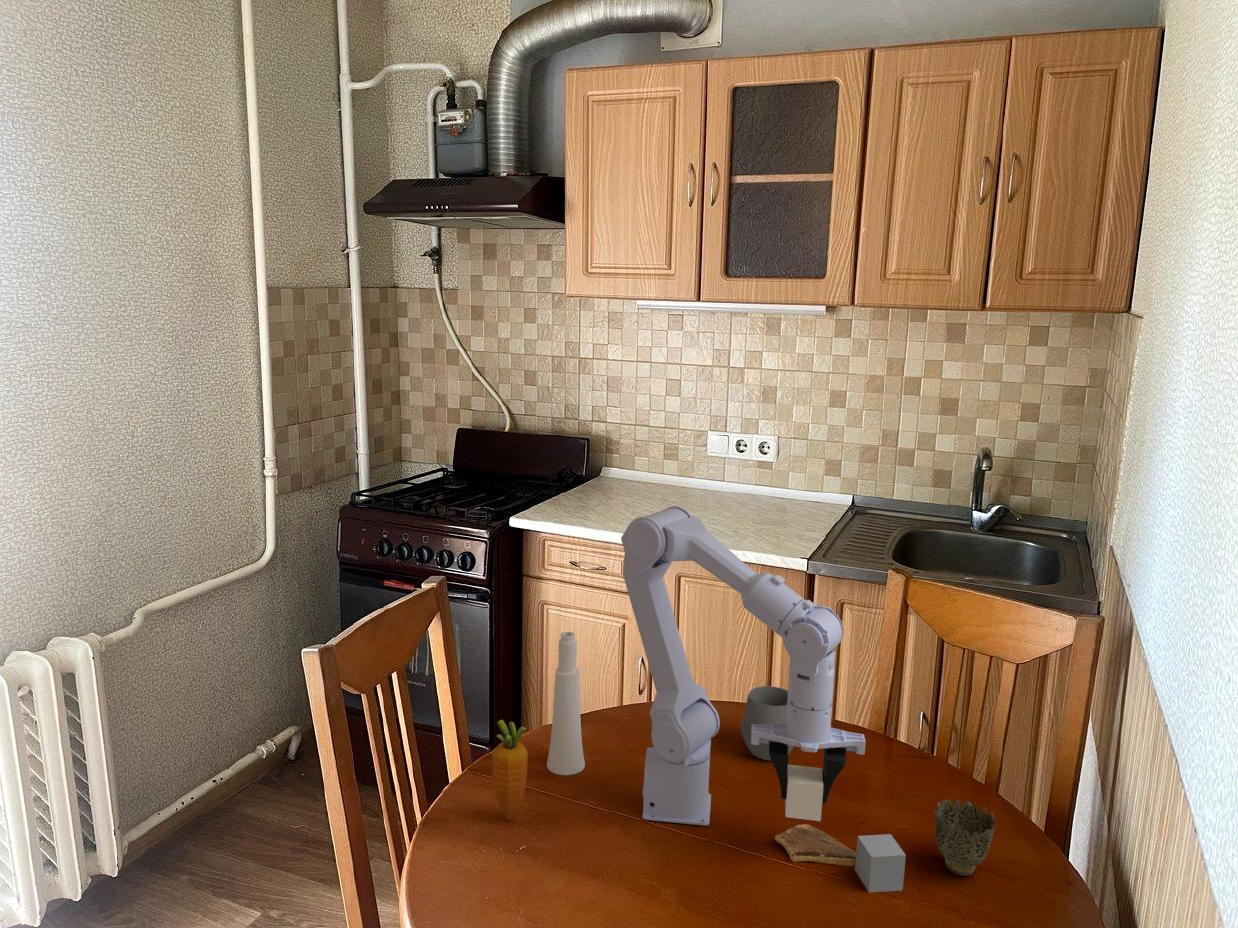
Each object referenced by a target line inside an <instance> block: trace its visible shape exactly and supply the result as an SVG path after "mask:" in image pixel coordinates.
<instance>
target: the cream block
mask: <svg viewBox="0 0 1238 928" xmlns="http://www.w3.org/2000/svg"><path fill="white" fill-rule="evenodd" d="M822 774H823V768H820V767H814V766H813V767H812V766H803V765H795V764H788V769H787V796H786V799H784V800H785V801H784V806H785V809H784V810H785V818H791V819H800V820H805V821H806V820H807V821H816V822H821V820H822V810H823V809H822V808H823V807H822V806H823V803H822V798H823V777H822Z"/></svg>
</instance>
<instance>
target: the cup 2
mask: <svg viewBox="0 0 1238 928" xmlns="http://www.w3.org/2000/svg"><path fill="white" fill-rule="evenodd" d="M936 807H937V808H936V810H934V827H935V841H936V844H937V845H936V846H937V848H938V849H937V850H939V852H940V854H941V855H942V856H943V858H945V860H944V862H945V865H946V868H947V869H948V870H949V871H950V872H951V873H953V874H954V875H958V876H962V877H966V876H970V875H972V874H973V872H975V869H976V866H978V865H980V864H982V863H983V862H984V861H985V859H986V858H987V856H988V853H989V851H990V849H991V845H992V841H993V840H992V839H993V837H994V833H995V826H996V819H995V815H994V813H992V812H991V813H987V809H986V807H984V808H983V809H981V810H980V808H979V807H978V805H977V803H973V804H971V802H970V801H969V800H968V801H965V802H964V803H963V804H962V805H961V800H960V799H956V800H955V801H954V803H953V802H952V801H951V800H950V799H948V798H947V799H944V800H943V801H942V802H939V801H938V802H937V804H936Z"/></svg>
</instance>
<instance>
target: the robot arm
mask: <svg viewBox="0 0 1238 928" xmlns="http://www.w3.org/2000/svg"><path fill="white" fill-rule="evenodd" d="M620 541H621V543H622V546H623V547H622V548H623V551H624V557H623V558H624V559H623V566H622V567H623V568H622V575H623V581H624V583H625V586H626V591H627V593H628V598H629V601H630V603H631V608H632V612H633V615H634V618H635V622H636V626H637V629H638V632H639V636H640V639H641V642H642V646H643V650H644V653H645V656H646V657H645V658H646V660H647V664H648V668H649V670H650V674H651V678H652V681H653V685H654V689H655V691H656V693H655V696H654V700H653V701H652V705H651V708H650V710H649V711H650V712H649V717H650V721H651V733H650V734H651V735H650V739H651V742H652V743H651V744H652V746H653V747H647V749H646V754H645V761H644V772H643V773H644V776H643V786H642V795H641V796H642V798H643V805H642V807H643V809H642V819H643V820H644V821H645V820H647V821H653V822H654V821H656V822H664V823H666V822H667V823H675V824H677V823H678V824H687V825H697V826H709V825H710V820H711V818H710V817H711V803H712V794H711V793H709V787H710V786H709V785H710V783H709V782H710V767H711V766H710V764H711V763H710V762H711V746H712V745H711V743H712V738H714V737H715V736H716V735H717V734H718V732H719V729H720V725H721V723H720V722H721V720H720V716H719V713H718V711H717V709H716V708H715V707H714V705H713V704H712V702H711V701H710V700H709V697H708V694H707V691H706V689H705V688H704V687H702V686H701V685H699V684H697V683H696V682H695V681H694V679H693V677H692V673H691V670H690V666H689V663H688V659H687V655H686V652H685V648H684V644H683V642H682V638H681V635H680V632H679V631H680V630H679V628H678V625H677V621H676V618H675V617H676V616H675V614H674V610H673V607H672V604H671V603H672V602H671V599H670V595H669V593H668V590H667V587H666V583H665V580H664V579H665V578H664V576H665V575H666V573H667V572H668V570H669V568H670V567H671V565H672V563H673V562H694V563H695V564H697V565H699V566H700V567H701V568H703V569H705V570H706V571H708V572H709V573H710V574H712V575H713V576H714V577H716V578H717V579H719V580H721V581H722V582H723V583H725V584H726V585H727V586H729V588H730V587H731V588H732V589H733V590H735V591H736V592H738V593H739V594H740V595H741V596H740V597H741V602H742V606H743V608H744V609H745V610H746V611H748V612H749V613H750V614H752V615H753V616H754V617H755V618H757V619H758V620H759V621H760V622H761V623H763V624H764V625H765V626H767V627H768V628H769V629H771V630H772V631H773V632H774V633H776V634H777V635H778V636H779V637H781V638H782V641H783V645H784V648H785V650H786V652H787V653H788V656H789V665H788V666H789V667H788V668H789V669H788V685H787V691H788V699H787V715H786V723H781V724H768V725H753V724H752V729H751V744H752V745H759V744H760V743H767V744H769V755H770V758H771V761H770V762H771V763H772V765H773V767H774V769H775V772H776V775H777V778H778V782H779V786H780V787H779V788H780V798H781V799H783V800H785V799H786V796H787V769H788V765H789V754H788V745H789V746H794V747H797V748H800V751H802V752H807V753H817V752H818V750H821V749H822V750H823V768H822V777H823V798H822V804H827V803H828V799H829V795H830V793H831V789H832V788H833V785H834V783H835V781H836V780H837V778H838V776H839V774H840V772H842V770H843V769H844V768H845V766H846V763H847V752H855V754H856V755H865V753H866V752H865V751H866V738H865V734H863V733H857V732H852V731H851V732H850V731H846V730H844V729H838V728H836V727H835V728H834V727H832V713H833V701H834V700H833V699H834V698H833V697H834V684H835V664H836V662H835V661H836V650H835V649H836V647H838V646H839V644H840V643H841V641H842V640H843V637H844V626H843V623H842V621H841V618H840V616H838V615H837V613H835V612H834V611H833V608H831V607H829V606H827V605H819V604H818V605H815V603H814V602H813V601H811V600H810V599H807V600H806V599H805V598H803V596H801V595H800V594H798V593H797V592H795V591H794V590H793V589H791V588H790V587H789V586H788V585H786V584H785V582H786V580H785V578H784V577H782V576H781V575H780V574H777V575H775V576H774V575H773V574H772V573H771V572H770V573H769V572H765V573H758V572H757V573H756V572H755V571H754V570H753V569H752V568H751V567H749V566H748V565H747V564H746V563H745V562H744V561H742V560H741V559H740V558H739V557H738V556H737V555H736V554H734V553H733V552H732V551H731V550H730V549H728V548H727V547H726V546H725V545H724V544H723V543H722V542H721V541H720V540H719V539H717V538H716V537H715V536H714V535H713V534H712V533H710V532H709V531H708V529H707V528H706V526H705V525H704V523H703V521H702V520H701V519H700V518H698V517H697V516H695V515H694V516H693V515H692V513H690V511H688V510H687V509H685V508H684V507H681V506H679V505H678V506H677V505H673V506H669V507H666V508H664V509H663V510H661V511H658V512H654V513H652V514H651V513H650V514H648V515H646V516H639V517H636V518H635V519H633V520H632V521H631V522H630V523H629V524H628V526H627V527H626V529H625V531H624V533H623V534H622V535H621V537H620Z"/></svg>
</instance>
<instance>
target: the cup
mask: <svg viewBox="0 0 1238 928" xmlns="http://www.w3.org/2000/svg"><path fill="white" fill-rule="evenodd" d="M787 699H788V689H785V688H782V687H779V686H770V685H769V686H767V685H766V686H765V685H763V686H759V687H757V686H756V687H754V688H752V689H750V691H749V692H748V695H747V699H746V704H745V707H744V712H743V716H742V720H741V724H740V732H741V735H742V738H743V740H744V743H745V745H746V747H747V749H748V752H749V753H751V754H752V755H753V756H754V757H756V758H758V759H761V760H764V761H769V762H772V761H771V758H770V755H769V744H767V743H760V744H759V745H752V744H751V729H752V724H753V725H768V724H781V723H786V715H787ZM794 747H795V746H789V745H788V755H789V754H790V753H791V752H792V750H793V748H794Z"/></svg>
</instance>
